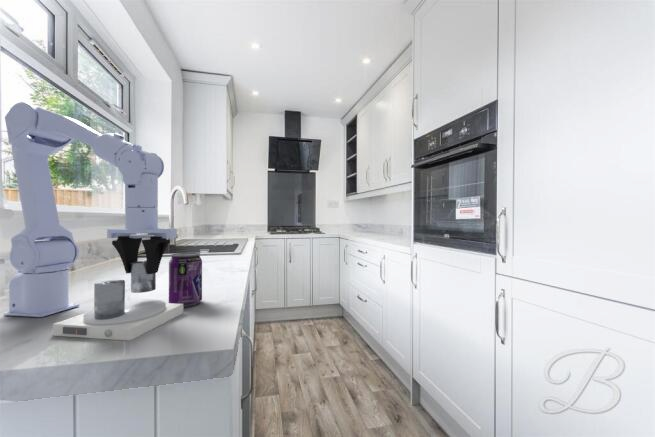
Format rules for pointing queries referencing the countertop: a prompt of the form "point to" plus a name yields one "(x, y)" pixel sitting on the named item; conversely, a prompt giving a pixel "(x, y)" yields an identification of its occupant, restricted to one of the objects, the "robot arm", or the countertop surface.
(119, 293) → the steel spacer
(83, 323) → the kitchen scale
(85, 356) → the countertop surface
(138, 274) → the steel spacer
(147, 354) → the countertop surface
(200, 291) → the beverage can
